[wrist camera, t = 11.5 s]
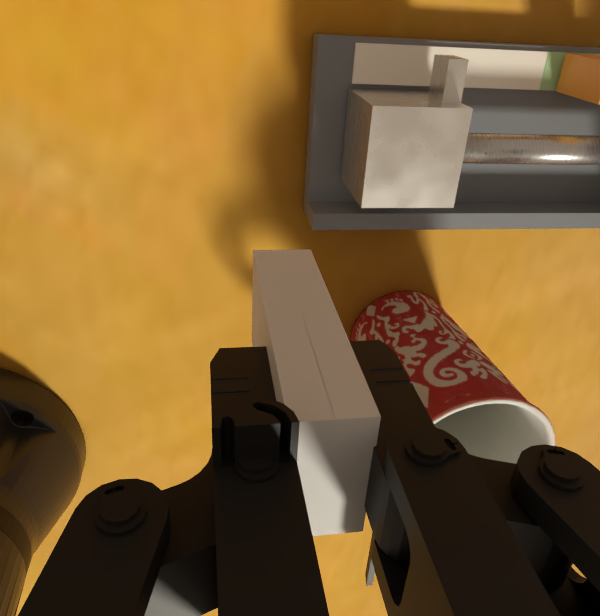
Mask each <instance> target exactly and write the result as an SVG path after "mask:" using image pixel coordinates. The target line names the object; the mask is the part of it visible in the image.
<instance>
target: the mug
mask: <svg viewBox="0 0 600 616" xmlns="http://www.w3.org/2000/svg"><path fill="white" fill-rule="evenodd" d="M365 340H381V341H382V342H383V343H384V344H386V345H387V346H388V347H389V348H391V349H392V350H393V351H394V352H396V354H397V356H398V358H399V360H400V361H401V363H402V365H403V367H404V371H406V373H407V375H408V376H409V378H410V383H412V384H413V386H414V388H415V390H416V391H417V393H418V395H419V397H420V399H421V401H422V403H423V405H424V406H425V408H426V410H427V412H428V414H429V416H430V418H431V420H432V421H433V423H434V425H435V427H436V428H439V429H442V430H444V431H446V432H448V433H449V434H451V435H452V436H454V437H455V438H457V439H458V440H459V442H460V443H461V444H462V445H463V446H464V448H465V449H466V451H467V452H468V454H470V455H473V456H477V457H481V458H485V459H491V460H497V461H503V462H509V463H514V464H516V463H517V460H518V458H519V456H520V454H521V452H522V451H523V450H525V449H527V448H528V447H530V446H534V445H543V444H546V445H552V446H555V434H554V429H553V427H552V424H551V422H550V421H549V419H548V417H547V416H546V415H545V414H544V413H543V412H542V411H541V410H540V409H539V408H537V407H536V406H535V405H533V404H531V403H529V402H528V401H527V400H526V399H525V398H524V397H523V396H522V395H521V393H520V392H519V391H518V390H517V389H516V388H515V387H514V386H513V384H512V383H511V382H510V381H509V380H508V379H507V378H506V377H505V375H504V374H503V373H502V372H501V371H500V370H499V369H498V368H497V367H496V366H495V365H494V364H493V363H492V362H491V360H490V359H489V358H488V357H487V356H486V355H485V354H484V353H483V352H482V351H481V350H480V349H479V347H478V346H477V345H476V344H475V343H474V341H473V340H471V339H470V338H469V337H468V335H467V334H466V333H465V332H464V331H463V330H462V329H461V328H460V327H459V326H458V325H457V324H456V323H455V321H454V320H453V319H452V318H451V317H450V316H449V315H448V314H447V313H446V311H445V310H444V309H443V308H442V307H441V306H440V305H439V304H438V303H437V302H436V301H435V300H434V299H433V298H431V297H429V296H428V295H425V294H424V293H419V292H415V291H400V292H395V293H390V294H388V295H386V296H383V297H381V298H379V299H378V300H376V301H374V302H373V303H372V304H370V305H369V306H368V307H367V308H366V309H365V310H364V311H363V312H362V313H361V314H360V316H359V317H358V319H357V321H356V323H355V325H354V327H353V329H352V334H351V341H365Z"/></svg>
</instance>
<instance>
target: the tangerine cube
mask: <svg viewBox="0 0 600 616" xmlns="http://www.w3.org/2000/svg"><path fill="white" fill-rule="evenodd" d="M556 92H559V93H562V94H566V95H569V96H572V97H575V98H579V99H582V100H585V101H588V102H592V103H595V104H598V105H600V55H595V54H573V53H566V55H565V59H564V62H563V66H562V70H561V74H560V78H559V81H558V85H557V89H556Z"/></svg>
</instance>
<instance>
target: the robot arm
mask: <svg viewBox="0 0 600 616" xmlns="http://www.w3.org/2000/svg"><path fill="white" fill-rule="evenodd" d="M252 343H253V347H240V348H220V349H219V350H218V352H217V353H216V355H215V356H214V358H213V359H212V361H211V363H210V372H211V405H212V445H213V448H212V455H211V457H210V459H209V461H208V463H207V465H206V466H205V467H204V468H203V469H202V470H201V472H200V473H198V474H197V475H195V476H194V477H193V478H191V479H190V480H188V481H185V482H183V483H181V484H179V485H176V486H173V487H170V488H168V489H165V490H162V491H161V490H160V489H159V488H158V487H156V486H155V485H154V484H153V483H150V482H147V481H143V480H139V479H120V480H116V481H113V482H110V483H107V484H104V485H101V486H100V487H98V488H97V489H95V490H94V491H92V492H91V493H89V494H88V495H86V496H85V497H84V499H83V500H82V501H81V502H80V504H79V505H78V506H77V507H76V509H75V510H74V512H73V514H72V516H71V518H70V520H69V522H68V523H67V525H66V527H65V529H64V531H63V533H62V535H61V536H60V538H59V540H58V542H57V544H56V546H55V548H54V550H53V551H52V553H51V555H50V557H49V559H48V561H47V563H46V564H45V566H44V568H43V570H42V572H41V574H40V576H39V577H38V579H37V581H36V583H35V585H34V587H33V589H32V591H31V592H30V594H29V596H28V598H27V600H26V602H25V604H24V605H23V607H22V609H21V611H20V613H19V615H18V616H201V615H203V614H205V613H207V612H209V611H211V610H214V609H216V608H218V616H329V613H328V608H327V603H326V598H325V594H324V589H323V584H322V579H321V574H320V570H319V565H318V560H317V555H316V551H315V546H314V541H313V536H319V535H329V534H339V533H349V532H359V531H363V526H364V520H365V514H366V512H367V516H368V519H369V522H370V525H371V528H372V531H373V533H372V539H371V545H370V551H369V556H368V562H367V568H366V586H368V585H372V584H373V578H374V573H376V576H377V580H378V583H379V587H380V590H381V593H382V597H383V600H384V603H385V607H386V610H387V614H388V616H600V471H599V470H598V469H597V468H596V467H594V466H593V465H592V464H591V463H590V462H588V461H587V460H585V459H584V458H582V457H581V456H579V455H578V454H576V453H574V452H571V451H569V450H567V449H564V448H562V447H557V446H552V445H546V444H543V445H534V446H530V447H528V448H527V449H525V450H523V451H522V452H521V454H520V456H519V458H518V460H517V463H516V464H514V463H509V462H503V461H497V460H491V459H485V458H481V457H477V456H473V455H470V454H468V452H467V451H466V449H465V448H464V446H463V445H462V444H461V443H460V442H459V440H458V439H457V438H455V437H454V436H452V435H451V434H449V433H448V432H446V431H444V430H442V429H439V428H436V427H435V425H434V423H433V421H432V420H431V418H430V416H429V414H428V412H427V410H426V408H425V406H424V405H423V403H422V401H421V399H420V397H419V395H418V393H417V391H416V390H415V388H414V386H413V384H412V383H410V378H409V376H408V375H407V373H406V371H404V367H403V365H402V363H401V361H400V360H399V358H398V356H397V354H396V352H394V351H393V350H392V349H391V348H389V347H388V346H387V345H386V344H384V343H383V342H382V341H381V340H365V341H349V339H348V337H347V335H346V332H345V330H344V327H343V325H342V323H341V320H340V318H339V316H338V313H337V311H336V308H335V306H334V304H333V301H332V299H331V297H330V294H329V292H328V289H327V287H326V285H325V282H324V280H323V277H322V275H321V273H320V270H319V268H318V266H317V263H316V261H315V258H314V256H313V254H312V251H311V249H307V250H253V302H252ZM85 458H86V445H85V439H84V435H83V432H82V430H81V428H80V425H79V423H78V422H77V420H76V418H75V417H74V415H73V414H72V413H71V411H70V410H69V409H68V408H67V407H66V406H65V404H64V403H63V402H62V401H60V400H59V399H58V398H57V397H56V396H55V395H53V394H52V393H51V392H49V391H48V390H47V389H45V388H44V387H42V386H40V385H39V384H37V383H35V382H33V381H31V380H29V379H27V378H25V377H23V376H20V375H18V374H15V373H12V372H9V371H6V370H3V369H0V616H15V615H16V611H17V608H18V604H19V600H20V597H21V593H22V589H23V586H24V582H25V578H26V574H27V571H28V568H29V564H30V561H31V558H32V555H33V554H34V553H35V551H36V550H37V549H38V547H39V546H40V544H41V543H42V542H43V540H44V539H45V538H46V536H47V535H48V533H49V532H50V531H51V529H52V528H53V527H54V525H55V524H56V522H57V521H58V519H59V518H60V517H61V515H62V514H63V512H64V511H65V510H66V508H67V507H68V506H69V504H70V503H71V501H72V500H73V498H74V496H75V494H76V491H77V489H78V487H79V483H80V480H81V476H82V472H83V468H84V463H85ZM572 564H574V565H575V566H576V567H577V568H578V569H579V570H580V571H581V572H582V574H583V575H584V576H585V577H586V578H587V579H586V578H584V577H582V576H580V575H579V574H578V573H577V572H576V571H575V570H574V569H573V568H572V567H571V566H572Z"/></svg>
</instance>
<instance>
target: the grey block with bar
mask: <svg viewBox="0 0 600 616" xmlns="http://www.w3.org/2000/svg"><path fill="white" fill-rule="evenodd" d="M468 62H469V60H468V59H464V58H461V57H458V56H454V55H438V54H435V56H434V62H433V68H432V75H431V81H430V87H429V91H412V90H382V89H352V88H349V90H348V101H347V112H346V123H345V134H344V145H343V156H342V167H341V178H340V179H341V180H342V182H343V183H344V184H345V186H346V187H347V189H348V190H349V191H350V193H351V194H352V196H353V197H354V198H355V200H356V201H357V203H358V204H359V205H360V207H361V208H454V203H455V198H456V193H457V188H458V183H459V178H460V173H461V168H462V163H475V164H557V165H600V136H591V135H544V134H497V133H468V132H469V127H470V122H471V117H472V112H473V108H471V107H469V106H466V105H464V104H462V103H461V99H462V94H463V89H464V83H465V78H466V72H467V67H468Z"/></svg>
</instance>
